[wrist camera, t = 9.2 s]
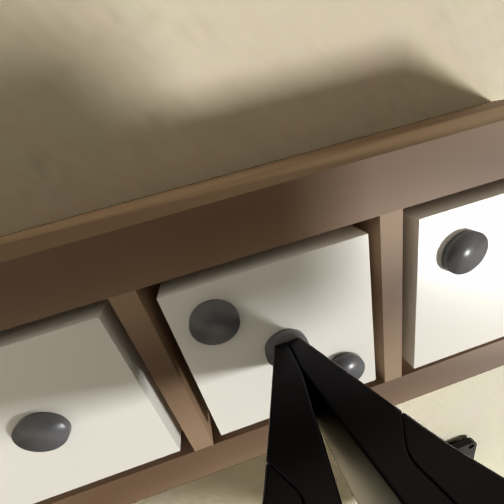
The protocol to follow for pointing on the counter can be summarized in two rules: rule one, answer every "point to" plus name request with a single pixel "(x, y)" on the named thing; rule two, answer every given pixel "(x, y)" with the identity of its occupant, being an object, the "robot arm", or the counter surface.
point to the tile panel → (244, 244)
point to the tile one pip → (76, 405)
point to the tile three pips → (272, 318)
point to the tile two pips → (453, 273)
